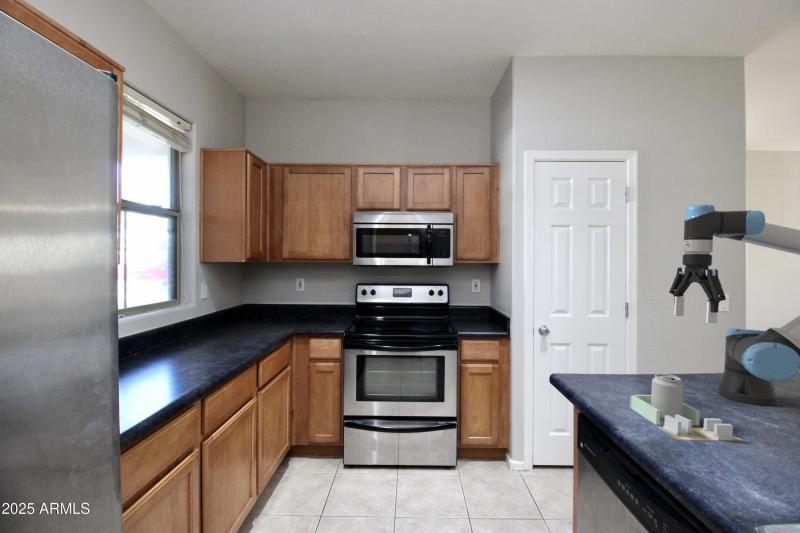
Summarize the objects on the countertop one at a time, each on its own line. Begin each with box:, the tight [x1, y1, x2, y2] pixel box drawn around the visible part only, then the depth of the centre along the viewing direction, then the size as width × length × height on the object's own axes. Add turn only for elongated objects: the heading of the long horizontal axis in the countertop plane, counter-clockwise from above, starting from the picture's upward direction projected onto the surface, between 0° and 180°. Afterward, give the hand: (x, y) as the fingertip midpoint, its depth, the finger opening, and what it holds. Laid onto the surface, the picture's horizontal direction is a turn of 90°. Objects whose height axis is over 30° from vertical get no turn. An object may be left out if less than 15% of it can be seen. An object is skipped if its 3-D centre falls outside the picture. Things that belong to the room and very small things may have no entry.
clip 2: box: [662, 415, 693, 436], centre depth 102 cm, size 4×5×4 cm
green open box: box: [629, 394, 701, 426], centre depth 112 cm, size 12×12×4 cm
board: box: [657, 426, 744, 442], centre depth 102 cm, size 17×7×1 cm, turn 91°
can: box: [650, 373, 685, 421], centre depth 111 cm, size 8×8×12 cm
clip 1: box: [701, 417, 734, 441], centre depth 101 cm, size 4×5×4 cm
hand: (694, 319), depth 126 cm, fingers open, 13 cm apart
